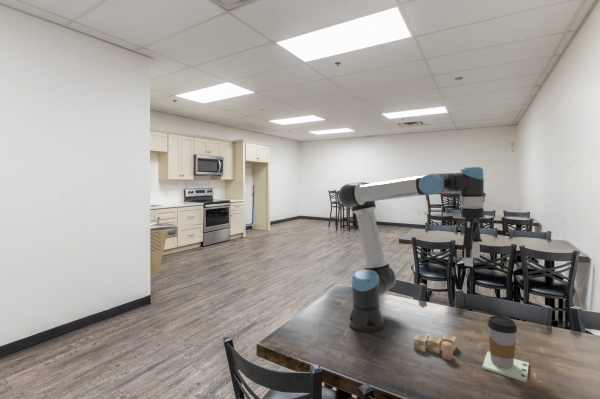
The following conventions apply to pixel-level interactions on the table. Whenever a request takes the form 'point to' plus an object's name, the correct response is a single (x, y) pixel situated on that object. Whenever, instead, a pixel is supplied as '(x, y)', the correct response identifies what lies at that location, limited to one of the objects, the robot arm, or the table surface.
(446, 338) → the maple cube
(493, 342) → the coffee cup
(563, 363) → the table surface
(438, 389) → the table surface
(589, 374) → the table surface
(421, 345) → the maple cube
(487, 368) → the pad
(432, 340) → the maple cube
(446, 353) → the pink rounded piece
